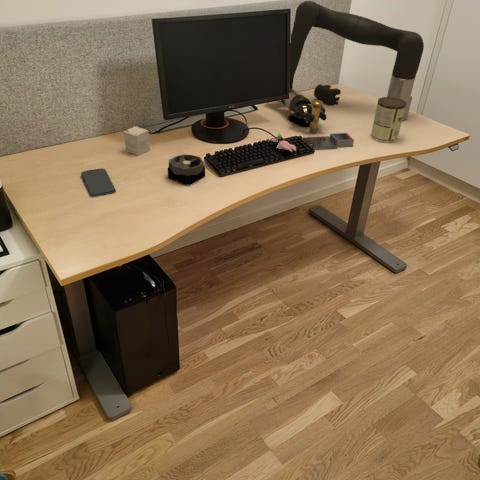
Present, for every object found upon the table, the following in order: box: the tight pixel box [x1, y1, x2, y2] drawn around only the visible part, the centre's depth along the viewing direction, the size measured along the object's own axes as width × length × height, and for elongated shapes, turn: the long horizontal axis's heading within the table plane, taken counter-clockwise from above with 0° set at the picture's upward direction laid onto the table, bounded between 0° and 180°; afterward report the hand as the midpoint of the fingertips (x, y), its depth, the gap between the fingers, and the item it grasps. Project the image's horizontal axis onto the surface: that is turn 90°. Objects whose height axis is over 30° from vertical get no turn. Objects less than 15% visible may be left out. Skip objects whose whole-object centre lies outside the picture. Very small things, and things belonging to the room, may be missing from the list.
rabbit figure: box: [266, 132, 297, 153], centre depth 164 cm, size 6×6×15 cm
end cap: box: [313, 84, 341, 106], centre depth 207 cm, size 10×7×7 cm
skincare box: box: [123, 125, 151, 156], centre depth 158 cm, size 6×6×7 cm
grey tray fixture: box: [302, 132, 355, 151], centre depth 170 cm, size 19×9×2 cm, turn 102°
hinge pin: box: [308, 99, 324, 135], centre depth 176 cm, size 4×4×12 cm
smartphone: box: [80, 167, 117, 198], centre depth 140 cm, size 8×2×15 cm
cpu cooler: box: [167, 154, 206, 186], centre depth 145 cm, size 10×6×10 cm
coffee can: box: [370, 96, 407, 144], centre depth 174 cm, size 10×10×14 cm
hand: (318, 118), depth 174 cm, fingers open, 5 cm apart
